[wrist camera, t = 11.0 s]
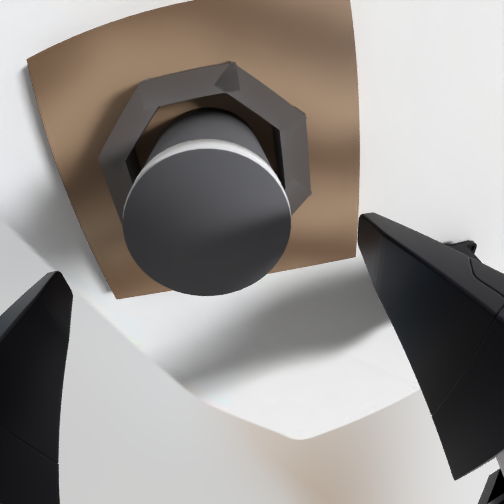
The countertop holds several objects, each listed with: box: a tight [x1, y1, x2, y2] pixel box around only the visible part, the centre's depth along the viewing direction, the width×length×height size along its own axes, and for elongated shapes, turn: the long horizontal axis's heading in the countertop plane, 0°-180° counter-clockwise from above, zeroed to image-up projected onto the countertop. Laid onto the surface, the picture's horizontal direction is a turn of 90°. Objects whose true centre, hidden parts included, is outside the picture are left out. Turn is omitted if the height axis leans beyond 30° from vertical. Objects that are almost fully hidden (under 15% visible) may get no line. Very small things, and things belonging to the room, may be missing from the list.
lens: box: [123, 107, 291, 296], centre depth 13 cm, size 5×5×7 cm
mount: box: [27, 0, 360, 299], centre depth 15 cm, size 16×16×3 cm
